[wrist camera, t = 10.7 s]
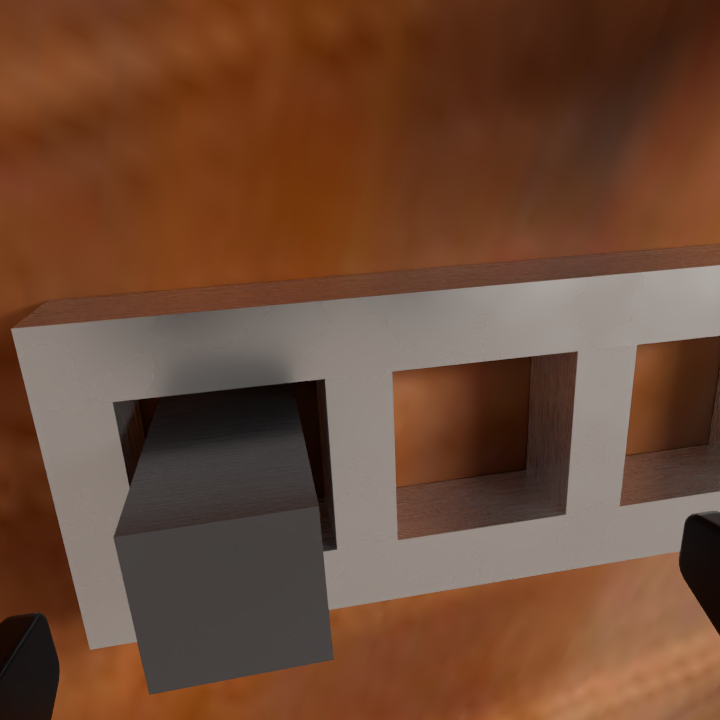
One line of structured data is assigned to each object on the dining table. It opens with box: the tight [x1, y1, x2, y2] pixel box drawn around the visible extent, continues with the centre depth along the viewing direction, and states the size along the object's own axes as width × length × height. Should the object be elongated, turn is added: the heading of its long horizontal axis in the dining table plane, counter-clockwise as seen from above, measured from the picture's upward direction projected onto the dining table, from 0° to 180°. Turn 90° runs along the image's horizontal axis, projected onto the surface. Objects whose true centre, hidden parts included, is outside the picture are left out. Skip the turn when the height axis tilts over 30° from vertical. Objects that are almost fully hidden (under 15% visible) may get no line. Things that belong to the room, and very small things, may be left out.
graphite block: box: [113, 383, 333, 695], centre depth 17 cm, size 4×4×8 cm
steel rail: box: [11, 244, 720, 650], centre depth 20 cm, size 25×10×3 cm, turn 93°
